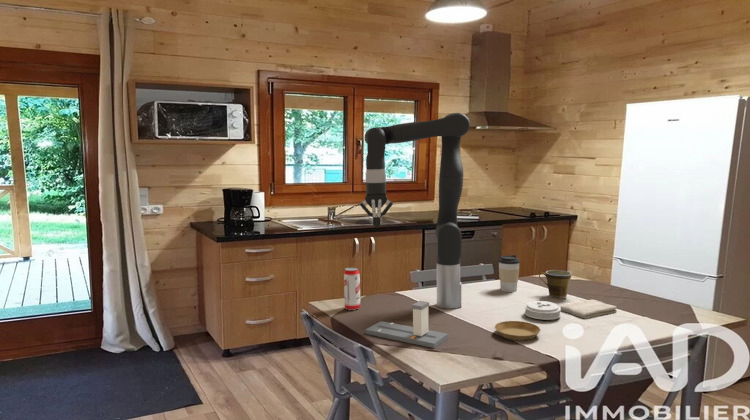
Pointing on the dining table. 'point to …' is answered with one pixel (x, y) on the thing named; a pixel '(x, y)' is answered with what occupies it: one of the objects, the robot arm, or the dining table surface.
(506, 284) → the coffee cup
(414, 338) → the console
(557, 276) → the ceramic cup
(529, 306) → the lid
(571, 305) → the washcloth
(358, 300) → the beer can
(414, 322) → the fader tab
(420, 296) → the dining table surface
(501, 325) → the plant saucer
